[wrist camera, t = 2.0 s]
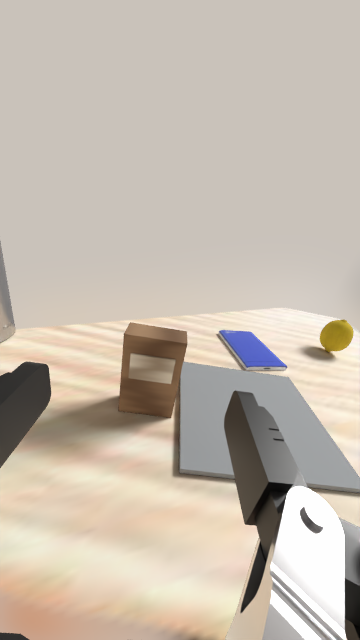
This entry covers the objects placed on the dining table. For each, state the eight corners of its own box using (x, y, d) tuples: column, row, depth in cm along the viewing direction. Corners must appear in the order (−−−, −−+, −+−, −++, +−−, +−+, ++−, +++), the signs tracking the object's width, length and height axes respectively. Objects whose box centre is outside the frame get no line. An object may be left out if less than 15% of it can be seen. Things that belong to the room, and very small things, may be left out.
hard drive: (219, 329, 45) (247, 365, 35) (251, 331, 48) (288, 365, 37) (217, 336, 46) (245, 373, 35) (249, 337, 48) (284, 372, 37)
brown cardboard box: (118, 412, 23) (123, 334, 19) (124, 394, 26) (130, 322, 22) (170, 418, 24) (187, 344, 20) (171, 401, 26) (186, 331, 22)
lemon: (325, 344, 51) (341, 314, 47) (347, 358, 46) (366, 326, 43) (308, 344, 49) (324, 313, 45) (329, 359, 44) (348, 325, 41)
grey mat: (179, 472, 19) (180, 468, 18) (180, 364, 33) (180, 361, 33) (365, 493, 20) (368, 489, 20) (287, 380, 34) (288, 377, 34)
